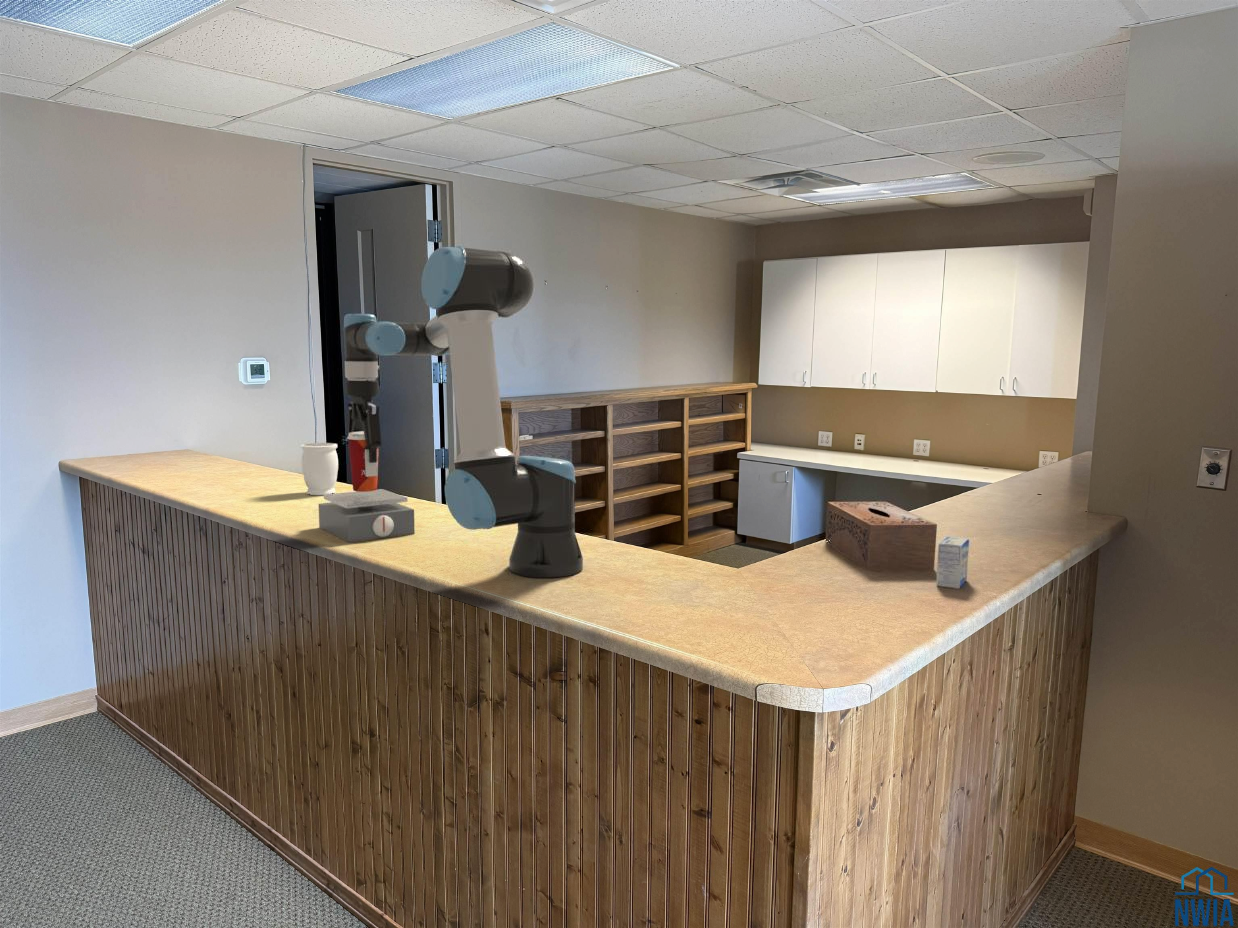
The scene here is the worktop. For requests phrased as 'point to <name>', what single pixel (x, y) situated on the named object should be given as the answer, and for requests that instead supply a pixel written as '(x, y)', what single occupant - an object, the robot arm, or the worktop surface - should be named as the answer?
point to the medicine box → (952, 562)
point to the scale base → (366, 521)
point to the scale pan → (365, 498)
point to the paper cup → (360, 463)
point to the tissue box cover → (881, 536)
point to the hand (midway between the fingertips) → (364, 473)
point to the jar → (320, 467)
